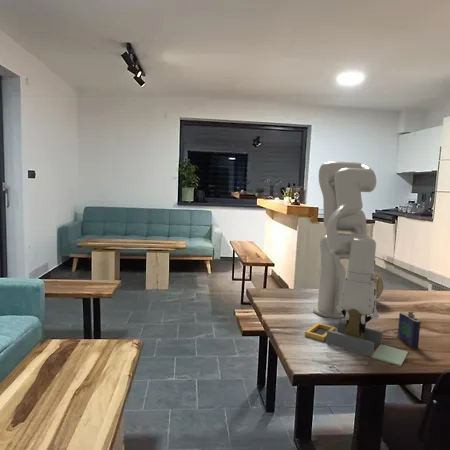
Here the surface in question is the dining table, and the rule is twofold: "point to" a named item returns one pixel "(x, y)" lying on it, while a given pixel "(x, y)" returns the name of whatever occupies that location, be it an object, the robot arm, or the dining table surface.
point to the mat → (390, 355)
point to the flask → (409, 329)
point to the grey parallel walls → (354, 339)
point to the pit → (319, 331)
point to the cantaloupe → (378, 285)
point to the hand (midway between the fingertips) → (355, 332)
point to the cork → (354, 324)
